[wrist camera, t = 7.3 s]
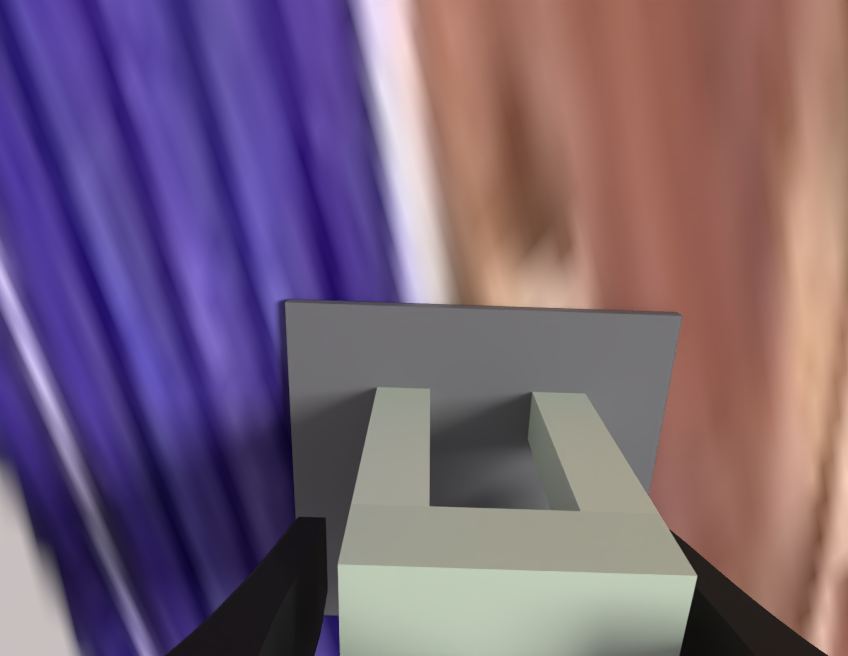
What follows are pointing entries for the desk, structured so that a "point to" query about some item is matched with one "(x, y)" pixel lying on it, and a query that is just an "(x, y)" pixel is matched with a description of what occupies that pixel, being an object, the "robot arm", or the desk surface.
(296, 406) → the felt pad
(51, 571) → the desk surface
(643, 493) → the slotted sage cube
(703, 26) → the desk surface
